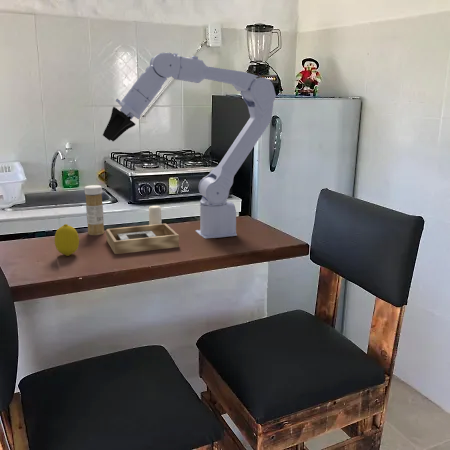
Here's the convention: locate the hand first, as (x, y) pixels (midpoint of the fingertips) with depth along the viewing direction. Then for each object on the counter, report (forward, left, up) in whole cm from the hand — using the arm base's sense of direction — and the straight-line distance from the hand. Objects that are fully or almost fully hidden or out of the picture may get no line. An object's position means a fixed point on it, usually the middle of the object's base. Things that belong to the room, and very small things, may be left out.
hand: (108, 138), depth 125 cm
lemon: (+12, +8, -27) cm, 31 cm away
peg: (-13, -6, -27) cm, 30 cm away
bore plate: (-5, +6, -26) cm, 27 cm away
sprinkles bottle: (+3, -9, -27) cm, 29 cm away
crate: (-6, +6, -27) cm, 28 cm away
